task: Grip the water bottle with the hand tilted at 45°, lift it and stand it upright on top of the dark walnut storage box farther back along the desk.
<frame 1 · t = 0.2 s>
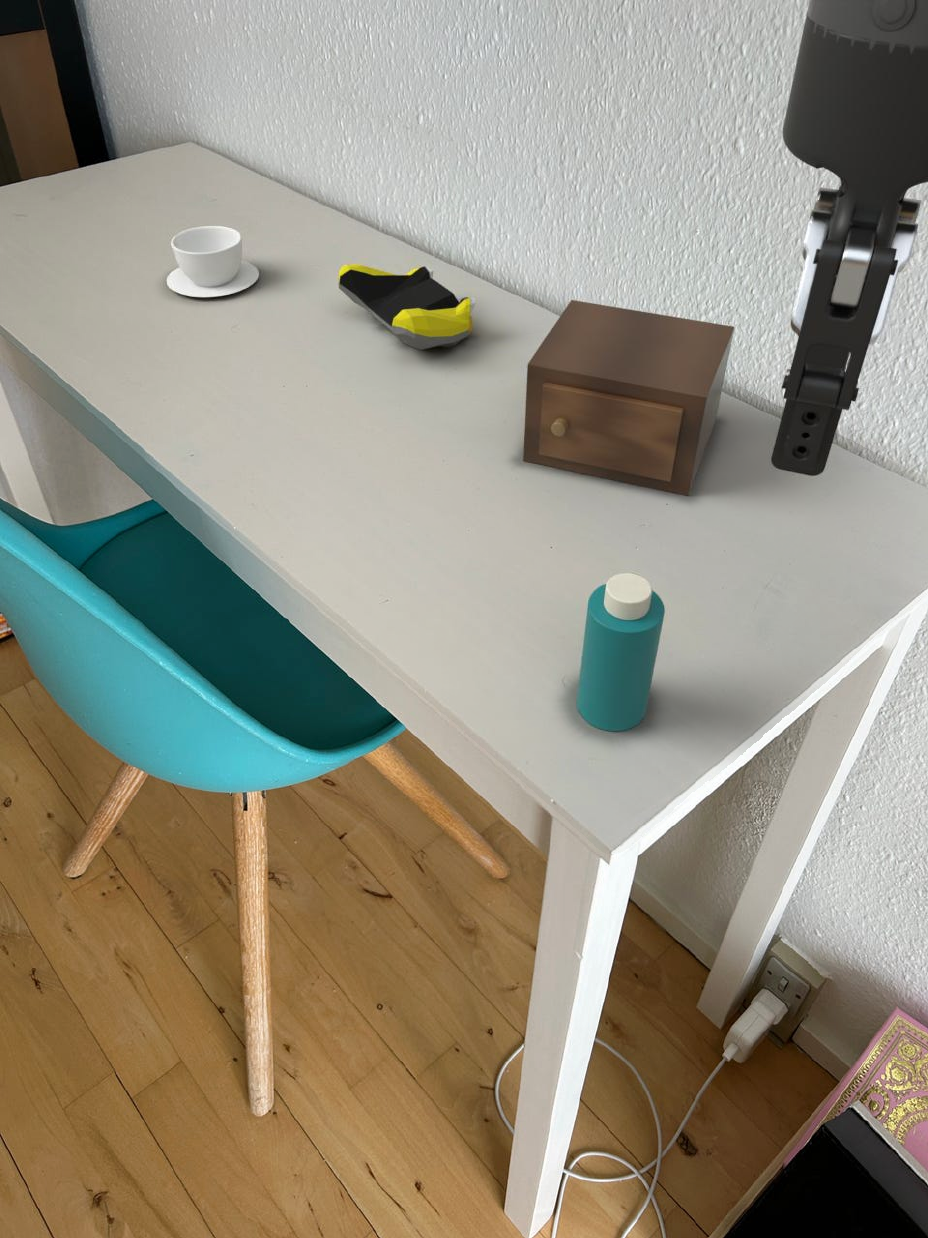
hand: (807, 418, 45), 23 cm above the table, tool pointing down, fingers open, 8 cm apart
multicoloured piece: (411, 332, 99), on the table
water bottle: (611, 705, 62), on the table
storage box: (621, 440, 84), on the table
teacup: (214, 282, 108), on the table
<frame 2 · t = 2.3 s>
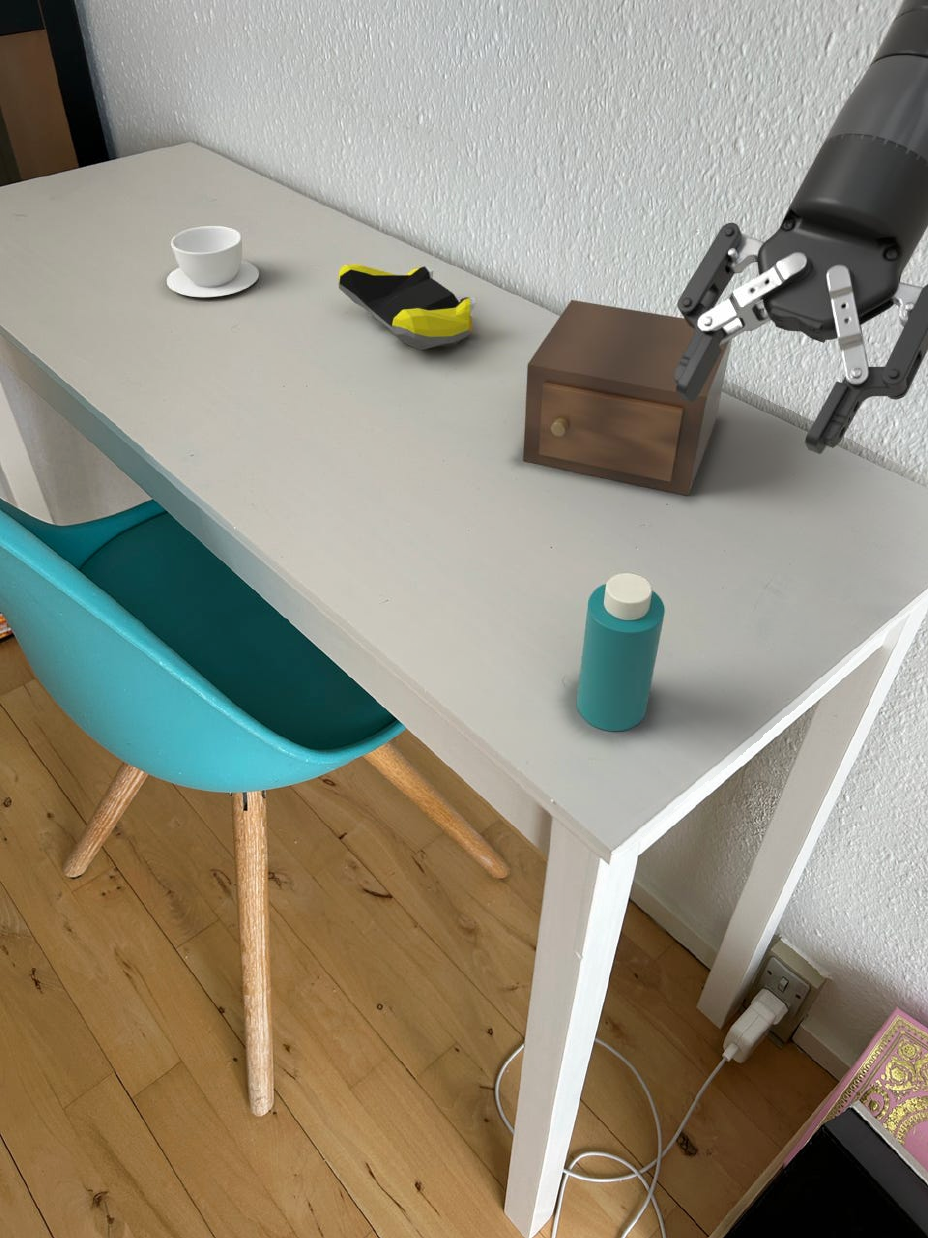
hand: (746, 422, 58), 15 cm above the table, tool tilted 45°, fingers open, 8 cm apart
nothing on the table moved.
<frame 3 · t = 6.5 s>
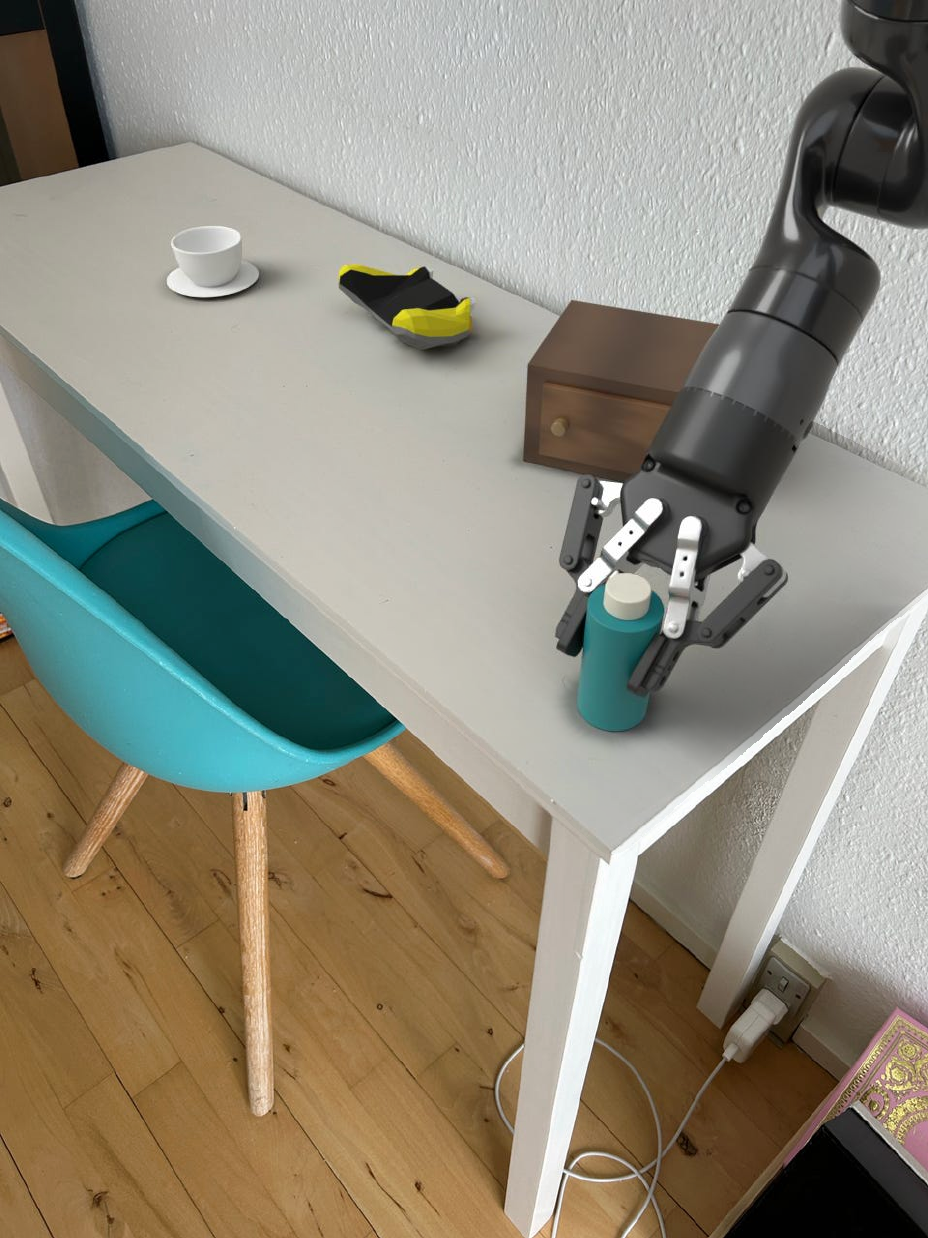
hand: (600, 672, 58), 5 cm above the table, tool tilted 45°, fingers closed on water bottle, 4 cm apart
water bottle: (611, 705, 62), on the table, touching gripper
everything else where it was.
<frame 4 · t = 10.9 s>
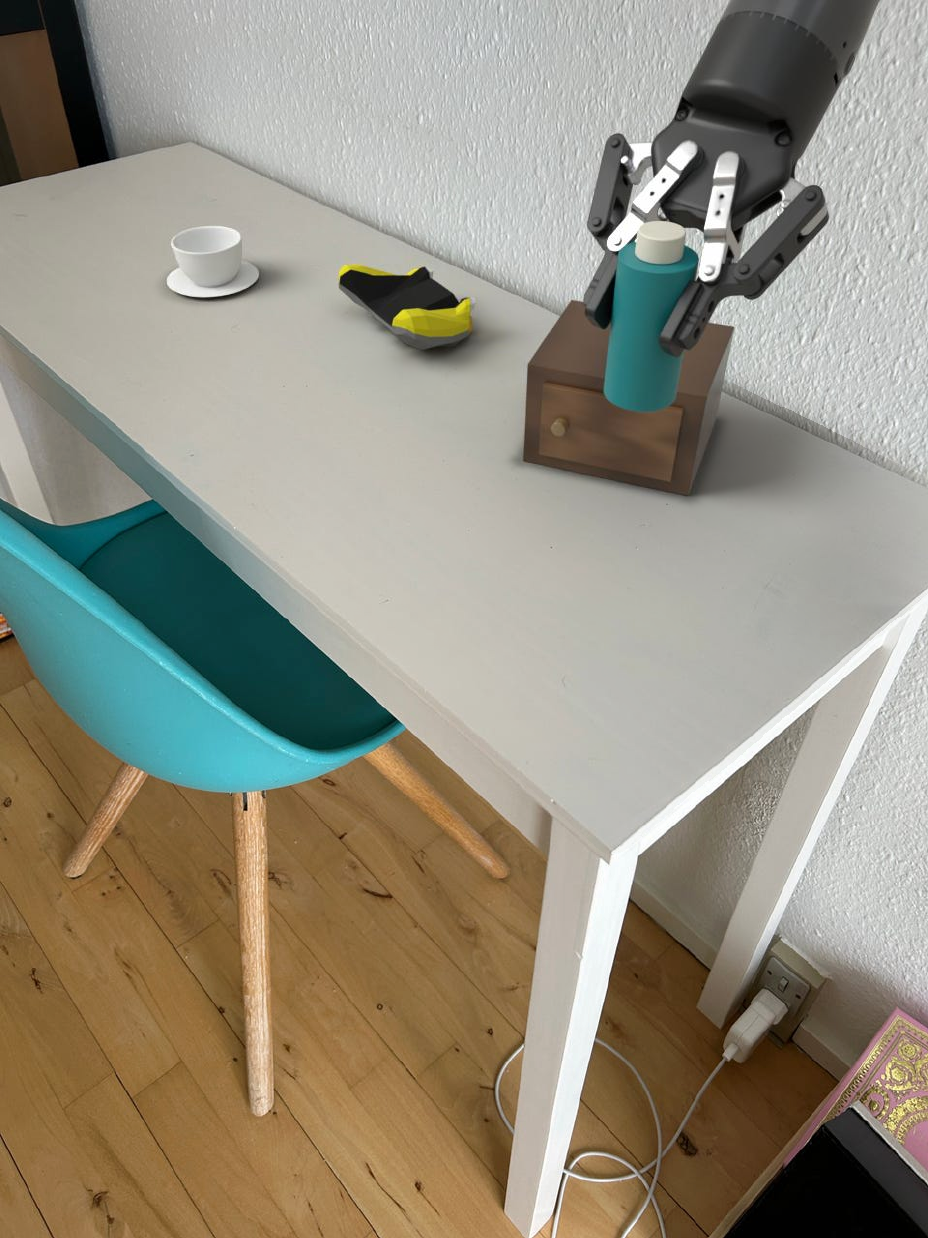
hand: (631, 335, 55), 20 cm above the table, tool tilted 45°, fingers closed on water bottle, 4 cm apart
water bottle: (639, 393, 60), point 16 cm above the table, touching gripper
everything else where it was.
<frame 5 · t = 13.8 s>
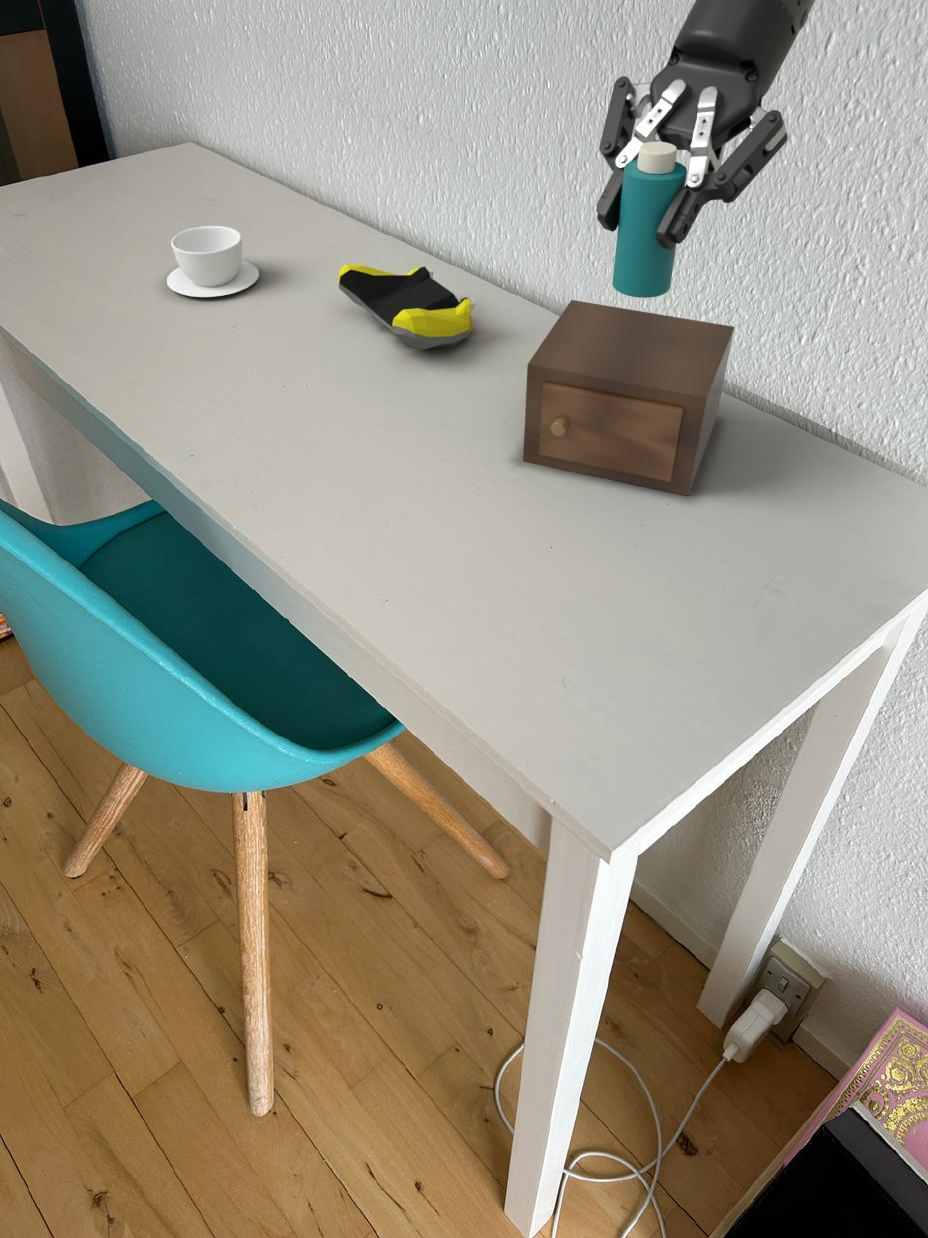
hand: (634, 233, 71), 18 cm above the table, tool tilted 45°, fingers closed on water bottle, 4 cm apart
water bottle: (641, 285, 75), point 14 cm above the table, touching gripper
everything else where it was.
when the fingers open (14 cm above the table, at t = 15.6 s): water bottle stays where it is, resting on storage box.
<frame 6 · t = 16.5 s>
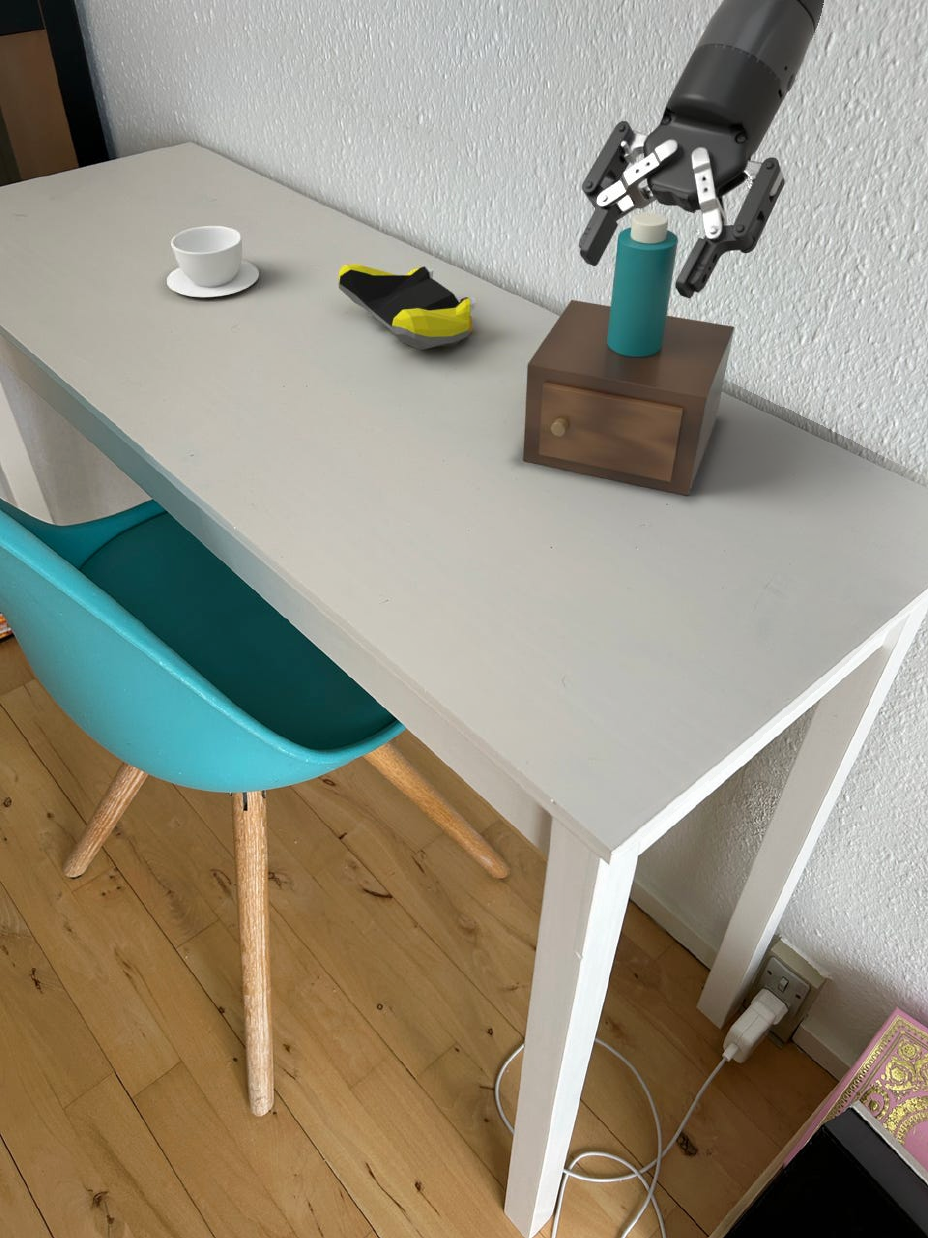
hand: (633, 276, 73), 15 cm above the table, tool tilted 45°, fingers open, 8 cm apart
water bottle: (634, 344, 78), point 9 cm above the table, touching storage box
everything else where it was.
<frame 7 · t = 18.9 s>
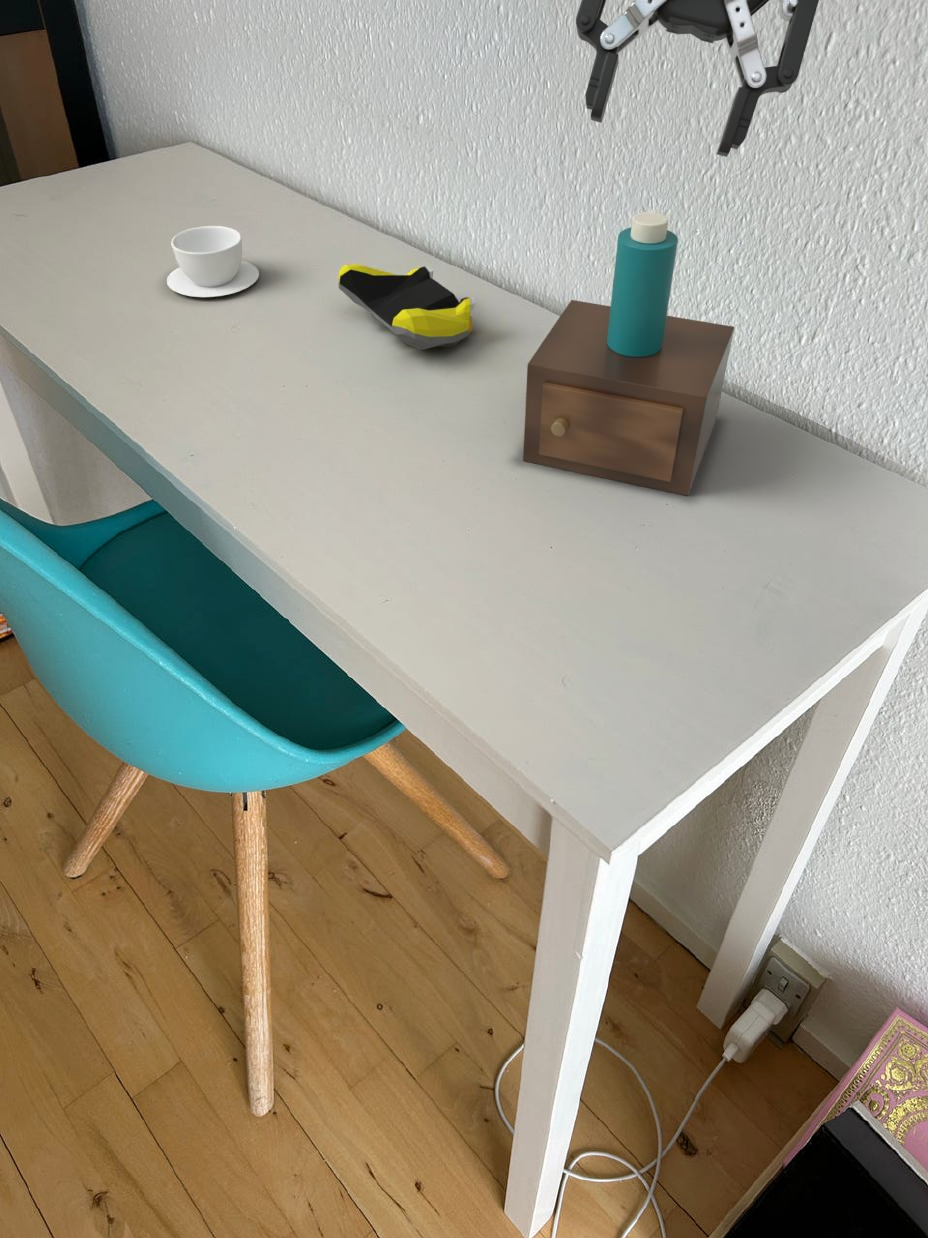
hand: (659, 136, 63), 26 cm above the table, tool tilted 30°, fingers open, 8 cm apart
nothing on the table moved.
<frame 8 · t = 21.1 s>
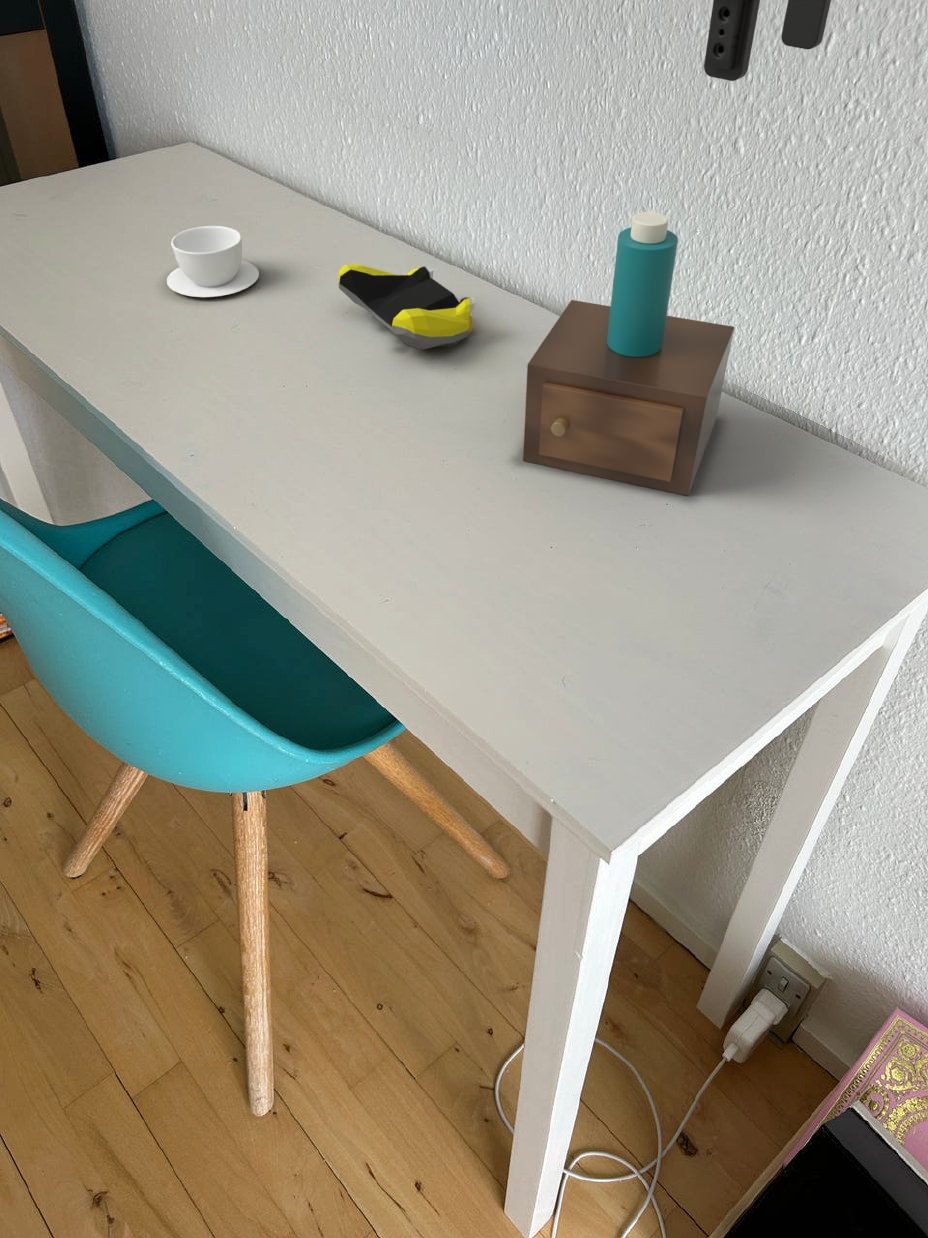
hand: (763, 60, 54), 32 cm above the table, tool pointing down, fingers open, 8 cm apart
nothing on the table moved.
at the end: water bottle inside the target area on the storage box (0.1 cm from its centre), point 9.0 cm above the storage box's base; water bottle tilted 0°; the gripper is holding nothing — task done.
